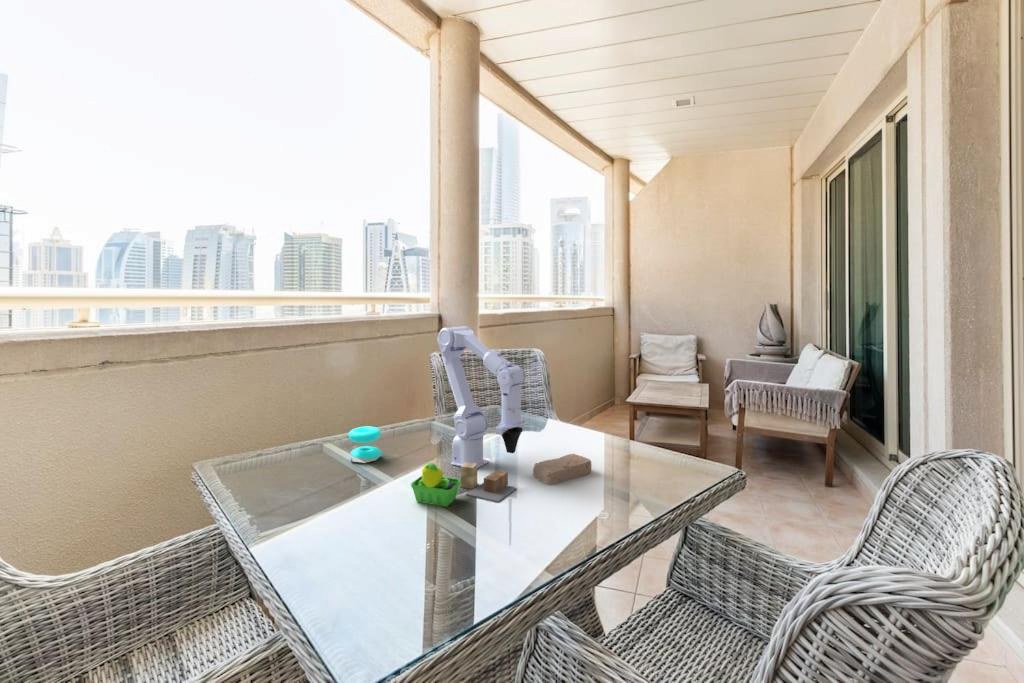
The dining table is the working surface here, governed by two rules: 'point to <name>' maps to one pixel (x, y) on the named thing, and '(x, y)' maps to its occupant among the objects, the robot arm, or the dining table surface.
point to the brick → (561, 469)
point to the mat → (494, 497)
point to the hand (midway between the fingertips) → (510, 452)
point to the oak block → (468, 475)
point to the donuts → (365, 436)
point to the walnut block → (495, 481)
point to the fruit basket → (435, 486)
